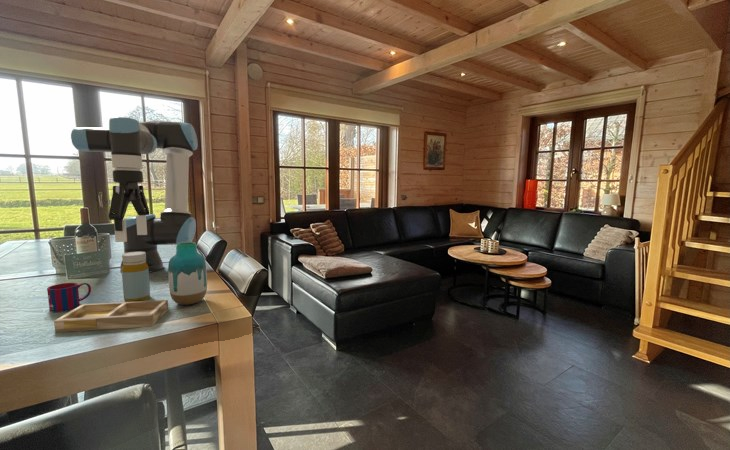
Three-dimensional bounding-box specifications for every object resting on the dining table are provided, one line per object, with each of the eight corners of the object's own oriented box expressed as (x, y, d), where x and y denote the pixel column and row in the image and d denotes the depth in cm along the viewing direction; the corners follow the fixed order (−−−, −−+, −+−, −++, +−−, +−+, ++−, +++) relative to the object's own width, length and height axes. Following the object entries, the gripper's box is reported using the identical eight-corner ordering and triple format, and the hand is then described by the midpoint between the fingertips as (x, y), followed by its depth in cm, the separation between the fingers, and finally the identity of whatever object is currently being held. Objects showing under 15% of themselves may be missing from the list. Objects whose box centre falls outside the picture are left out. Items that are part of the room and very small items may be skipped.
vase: (215, 301, 106) (212, 242, 104) (182, 312, 97) (179, 248, 95) (195, 294, 112) (192, 239, 109) (162, 304, 103) (159, 244, 100)
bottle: (137, 303, 103) (133, 256, 101) (118, 301, 104) (114, 255, 102) (155, 296, 110) (152, 251, 108) (137, 294, 111) (134, 250, 109)
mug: (46, 308, 98) (44, 286, 97) (89, 299, 106) (87, 278, 105) (53, 314, 94) (50, 291, 93) (96, 304, 102) (94, 282, 101)
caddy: (83, 314, 94) (82, 304, 94) (168, 309, 99) (167, 299, 98) (54, 332, 83) (53, 321, 83) (151, 326, 87) (150, 315, 87)
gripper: (133, 171, 113) (137, 232, 116) (88, 167, 89) (95, 245, 91) (157, 171, 115) (161, 232, 117) (120, 168, 90) (125, 244, 93)
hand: (132, 238), depth 104 cm, fingers open, 13 cm apart
